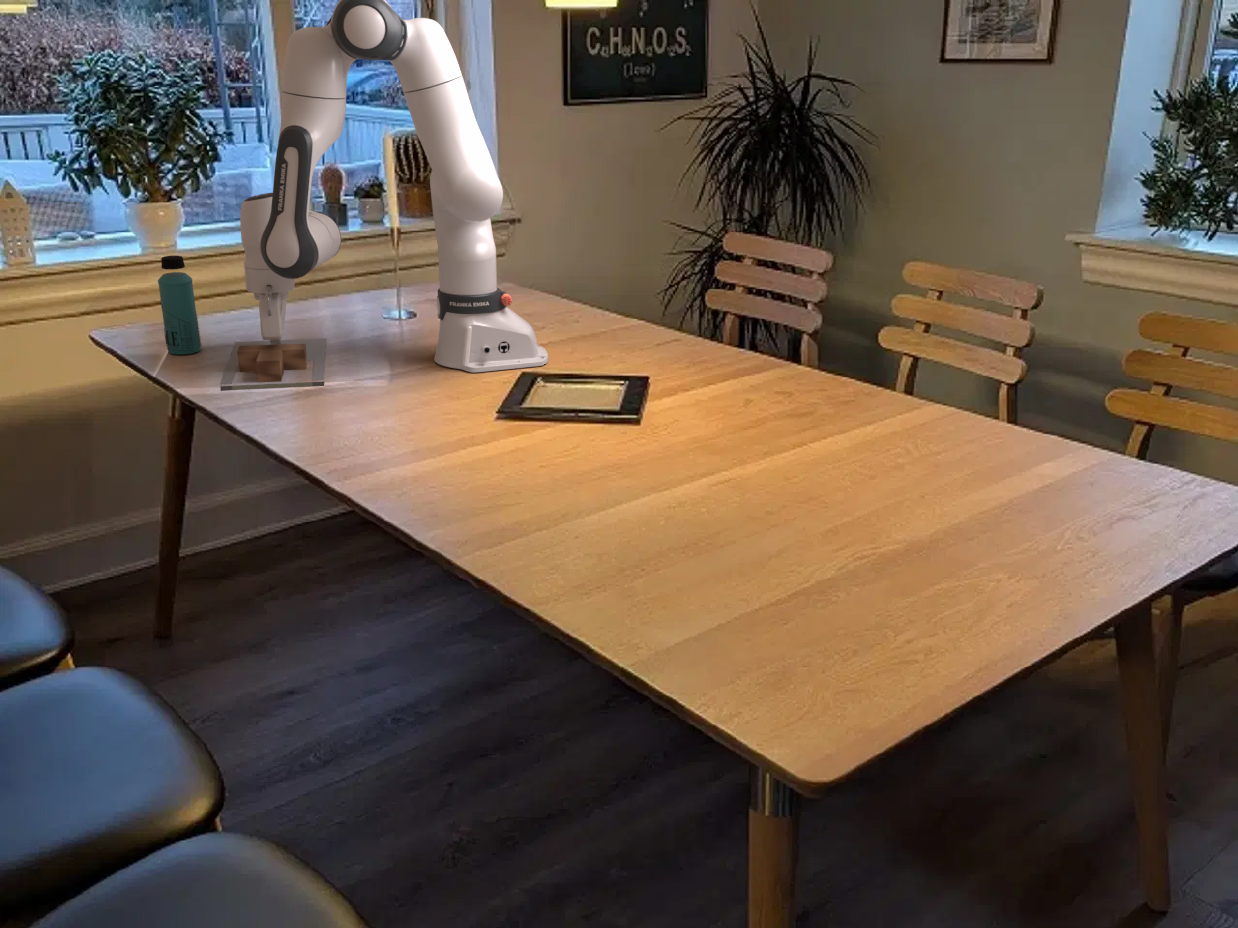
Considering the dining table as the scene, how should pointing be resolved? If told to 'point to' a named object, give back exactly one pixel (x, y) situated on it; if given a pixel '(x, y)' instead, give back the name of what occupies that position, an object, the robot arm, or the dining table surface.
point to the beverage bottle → (178, 308)
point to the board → (314, 353)
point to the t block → (272, 360)
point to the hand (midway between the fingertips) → (276, 350)
